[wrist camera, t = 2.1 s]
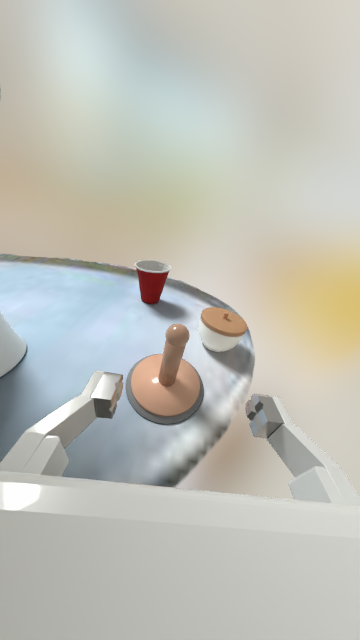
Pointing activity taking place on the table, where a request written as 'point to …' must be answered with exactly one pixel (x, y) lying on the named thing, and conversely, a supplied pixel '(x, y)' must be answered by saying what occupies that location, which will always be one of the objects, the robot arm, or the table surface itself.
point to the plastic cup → (151, 279)
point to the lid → (167, 378)
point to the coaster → (154, 417)
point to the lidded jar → (220, 329)
